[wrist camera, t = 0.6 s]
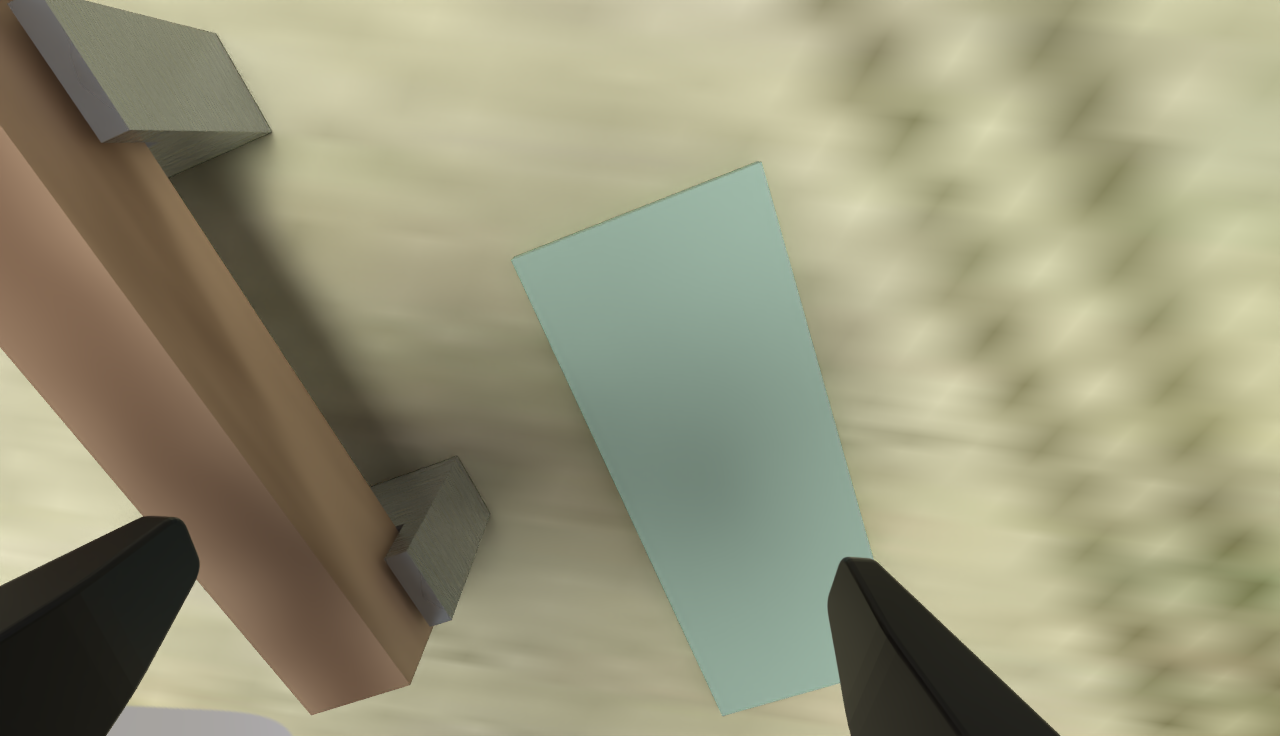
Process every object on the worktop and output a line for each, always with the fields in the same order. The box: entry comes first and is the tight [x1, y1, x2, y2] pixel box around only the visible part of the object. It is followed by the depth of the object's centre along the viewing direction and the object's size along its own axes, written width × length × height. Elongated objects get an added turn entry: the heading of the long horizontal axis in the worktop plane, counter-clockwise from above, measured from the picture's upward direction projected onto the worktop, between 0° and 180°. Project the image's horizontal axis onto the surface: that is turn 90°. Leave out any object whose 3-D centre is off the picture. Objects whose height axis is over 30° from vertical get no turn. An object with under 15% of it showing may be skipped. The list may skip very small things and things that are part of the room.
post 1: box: [7, 0, 272, 178], centre depth 16 cm, size 6×3×6 cm, turn 111°
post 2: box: [370, 457, 490, 627], centre depth 22 cm, size 6×3×6 cm, turn 111°
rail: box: [0, 0, 433, 715], centre depth 16 cm, size 4×20×4 cm, turn 21°
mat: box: [511, 161, 874, 716], centre depth 24 cm, size 9×24×1 cm, turn 21°
